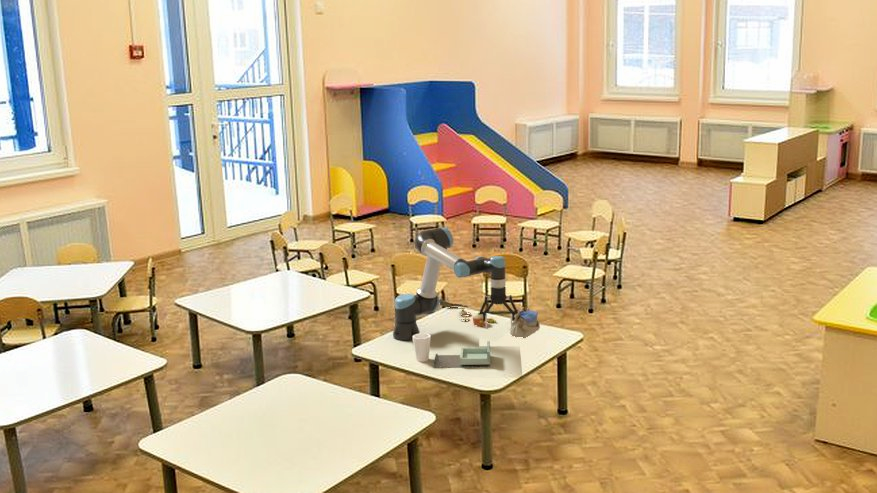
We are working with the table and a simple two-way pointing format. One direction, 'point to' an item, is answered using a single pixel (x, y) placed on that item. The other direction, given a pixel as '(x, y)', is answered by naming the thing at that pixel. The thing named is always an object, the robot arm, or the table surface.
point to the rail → (451, 362)
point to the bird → (450, 304)
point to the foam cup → (422, 346)
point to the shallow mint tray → (475, 355)
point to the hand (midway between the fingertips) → (498, 326)
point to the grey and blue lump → (524, 323)
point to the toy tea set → (477, 318)
